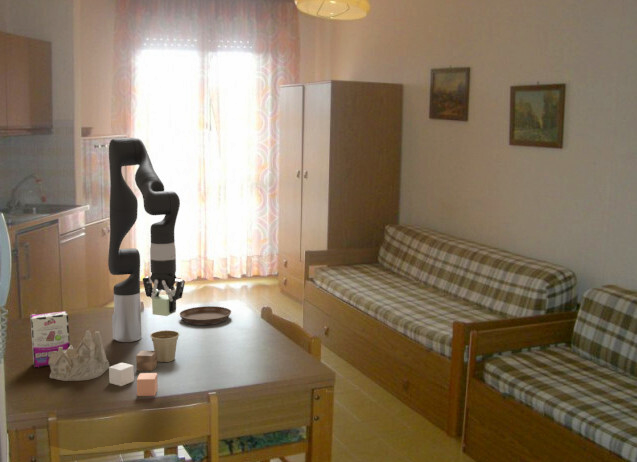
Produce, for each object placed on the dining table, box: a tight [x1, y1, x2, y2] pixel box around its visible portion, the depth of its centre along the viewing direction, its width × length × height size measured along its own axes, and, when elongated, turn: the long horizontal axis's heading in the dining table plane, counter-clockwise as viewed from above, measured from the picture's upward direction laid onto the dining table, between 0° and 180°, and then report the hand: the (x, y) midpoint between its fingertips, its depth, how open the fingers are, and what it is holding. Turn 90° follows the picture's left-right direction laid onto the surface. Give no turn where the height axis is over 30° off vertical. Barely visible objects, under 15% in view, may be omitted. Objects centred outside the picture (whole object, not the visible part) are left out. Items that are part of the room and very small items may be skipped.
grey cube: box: [108, 362, 135, 387], centre depth 199 cm, size 5×5×5 cm
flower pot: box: [149, 329, 180, 363], centre depth 219 cm, size 9×9×9 cm
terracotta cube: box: [136, 372, 159, 397], centre depth 192 cm, size 5×5×5 cm
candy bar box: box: [29, 311, 71, 368], centre depth 214 cm, size 11×5×16 cm, turn 117°
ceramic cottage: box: [48, 330, 111, 382], centre depth 207 cm, size 16×16×15 cm
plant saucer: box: [179, 305, 232, 326], centre depth 267 cm, size 21×21×3 cm
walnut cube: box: [135, 350, 158, 372], centre depth 211 cm, size 5×5×5 cm
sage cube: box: [151, 294, 177, 317], centre depth 203 cm, size 5×5×5 cm
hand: (164, 311), depth 203 cm, fingers closed on sage cube, 5 cm apart
